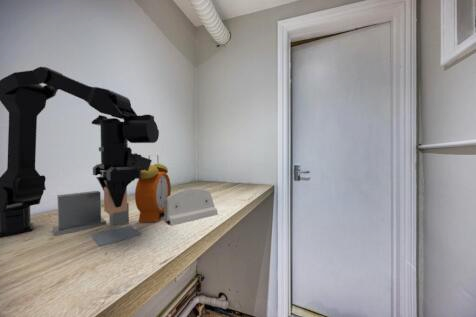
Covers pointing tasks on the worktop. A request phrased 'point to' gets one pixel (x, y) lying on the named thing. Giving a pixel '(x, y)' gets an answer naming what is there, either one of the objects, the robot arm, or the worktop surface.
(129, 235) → the mat
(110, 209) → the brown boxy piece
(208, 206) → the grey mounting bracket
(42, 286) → the worktop surface
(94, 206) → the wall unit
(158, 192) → the alarm clock
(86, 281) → the worktop surface
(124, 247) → the worktop surface
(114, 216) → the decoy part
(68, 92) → the robot arm
